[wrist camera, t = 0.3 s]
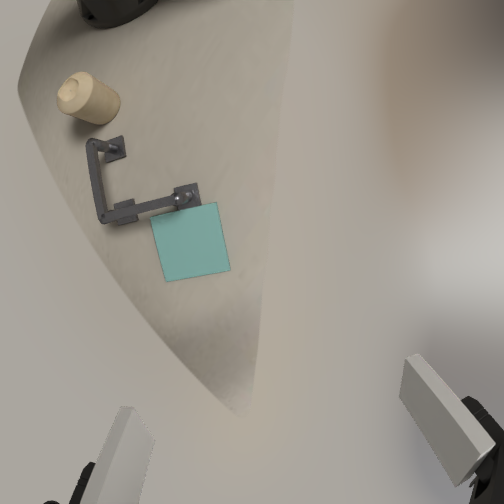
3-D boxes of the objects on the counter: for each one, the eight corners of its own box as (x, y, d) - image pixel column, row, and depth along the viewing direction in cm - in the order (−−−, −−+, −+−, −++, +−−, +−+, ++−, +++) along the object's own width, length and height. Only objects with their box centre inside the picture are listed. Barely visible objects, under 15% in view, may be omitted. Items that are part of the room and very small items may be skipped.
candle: (87, 128, 32) (47, 116, 22) (90, 94, 31) (53, 75, 21) (119, 121, 32) (84, 105, 22) (122, 86, 31) (90, 62, 21)
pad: (151, 216, 36) (149, 217, 35) (216, 202, 35) (216, 202, 35) (167, 279, 38) (166, 281, 37) (230, 268, 38) (230, 270, 37)
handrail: (104, 142, 33) (77, 135, 25) (185, 117, 33) (171, 102, 25) (120, 224, 36) (94, 234, 28) (201, 205, 35) (191, 210, 28)
